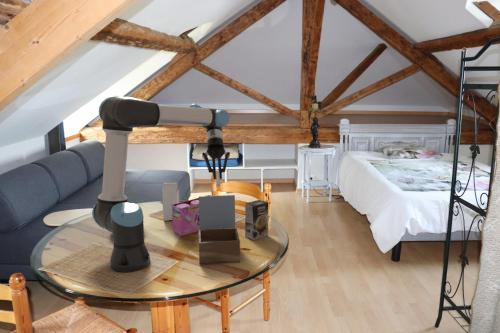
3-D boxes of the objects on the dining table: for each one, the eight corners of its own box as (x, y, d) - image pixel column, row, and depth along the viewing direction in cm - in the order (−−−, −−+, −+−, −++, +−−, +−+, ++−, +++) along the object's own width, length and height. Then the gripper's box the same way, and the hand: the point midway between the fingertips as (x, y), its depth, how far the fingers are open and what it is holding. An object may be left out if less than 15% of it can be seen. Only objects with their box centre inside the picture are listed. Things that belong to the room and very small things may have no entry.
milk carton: (177, 220, 210) (175, 184, 206) (163, 220, 210) (161, 184, 206) (179, 216, 217) (178, 181, 213) (166, 216, 217) (164, 181, 213)
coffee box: (254, 240, 185) (254, 206, 181) (244, 236, 190) (244, 202, 186) (268, 235, 191) (269, 202, 187) (259, 231, 195) (259, 199, 192)
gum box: (211, 219, 212) (211, 194, 209) (221, 223, 206) (221, 197, 204) (172, 231, 196) (171, 204, 193) (182, 236, 190) (181, 208, 187)
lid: (199, 229, 173) (199, 229, 174) (235, 227, 175) (235, 227, 176) (198, 196, 171) (198, 196, 172) (234, 195, 173) (234, 195, 174)
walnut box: (199, 249, 175) (198, 229, 173) (236, 247, 177) (236, 228, 175) (199, 264, 162) (198, 243, 160) (240, 262, 164) (239, 240, 162)
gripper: (228, 145, 197) (232, 188, 184) (201, 146, 195) (203, 190, 183) (229, 136, 190) (233, 180, 178) (201, 136, 189) (203, 181, 176)
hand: (218, 185), depth 180 cm, fingers closed
